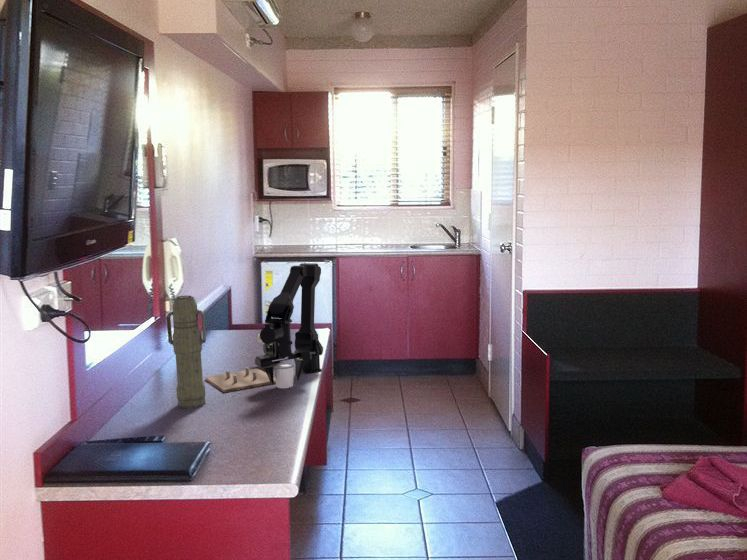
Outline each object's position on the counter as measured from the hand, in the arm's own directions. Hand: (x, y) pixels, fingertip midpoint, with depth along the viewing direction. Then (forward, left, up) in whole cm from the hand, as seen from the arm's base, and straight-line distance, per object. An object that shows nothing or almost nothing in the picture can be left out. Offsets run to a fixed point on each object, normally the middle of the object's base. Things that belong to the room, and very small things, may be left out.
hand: (284, 382), depth 269 cm
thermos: (+33, +1, -2) cm, 33 cm away
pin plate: (+10, -15, -1) cm, 18 cm away
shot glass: (0, 0, -2) cm, 2 cm away
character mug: (-10, -34, -2) cm, 35 cm away
